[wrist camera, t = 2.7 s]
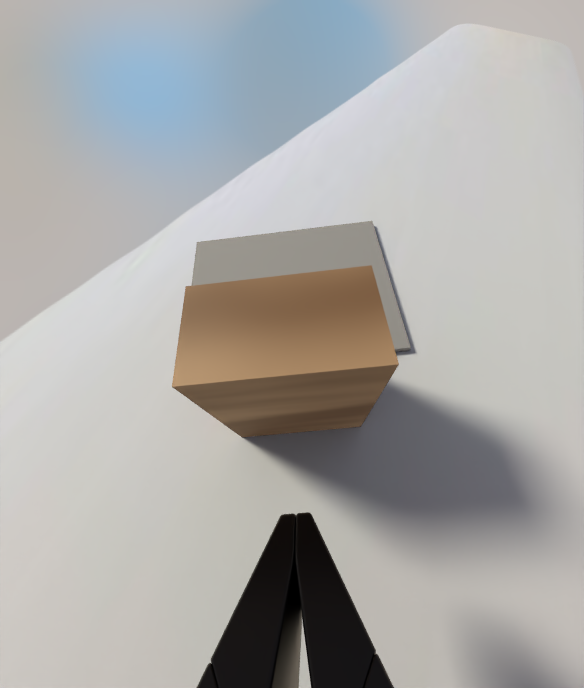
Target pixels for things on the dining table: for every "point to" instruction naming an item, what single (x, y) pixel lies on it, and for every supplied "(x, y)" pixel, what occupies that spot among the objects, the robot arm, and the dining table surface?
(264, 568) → the robot arm
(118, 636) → the dining table surface
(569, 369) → the dining table surface
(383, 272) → the mat
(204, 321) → the walnut block
